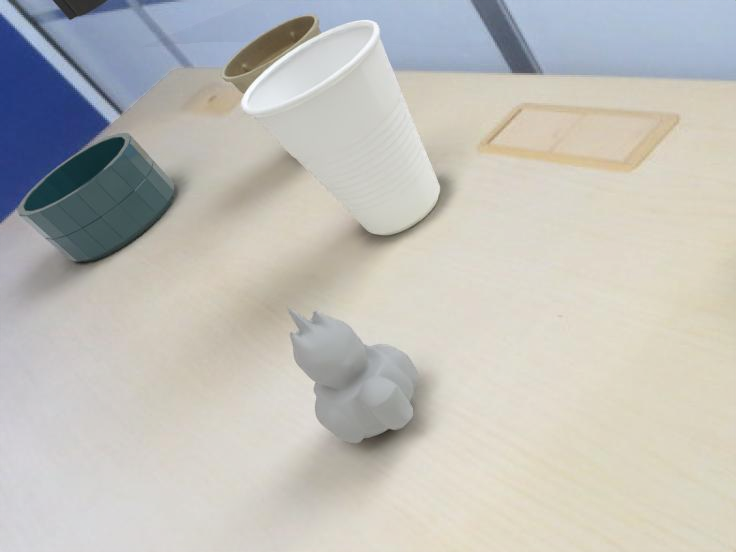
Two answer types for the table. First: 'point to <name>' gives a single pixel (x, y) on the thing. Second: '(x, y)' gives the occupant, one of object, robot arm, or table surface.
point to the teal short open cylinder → (99, 199)
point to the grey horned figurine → (353, 378)
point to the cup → (349, 126)
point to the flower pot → (269, 50)
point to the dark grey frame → (77, 6)
